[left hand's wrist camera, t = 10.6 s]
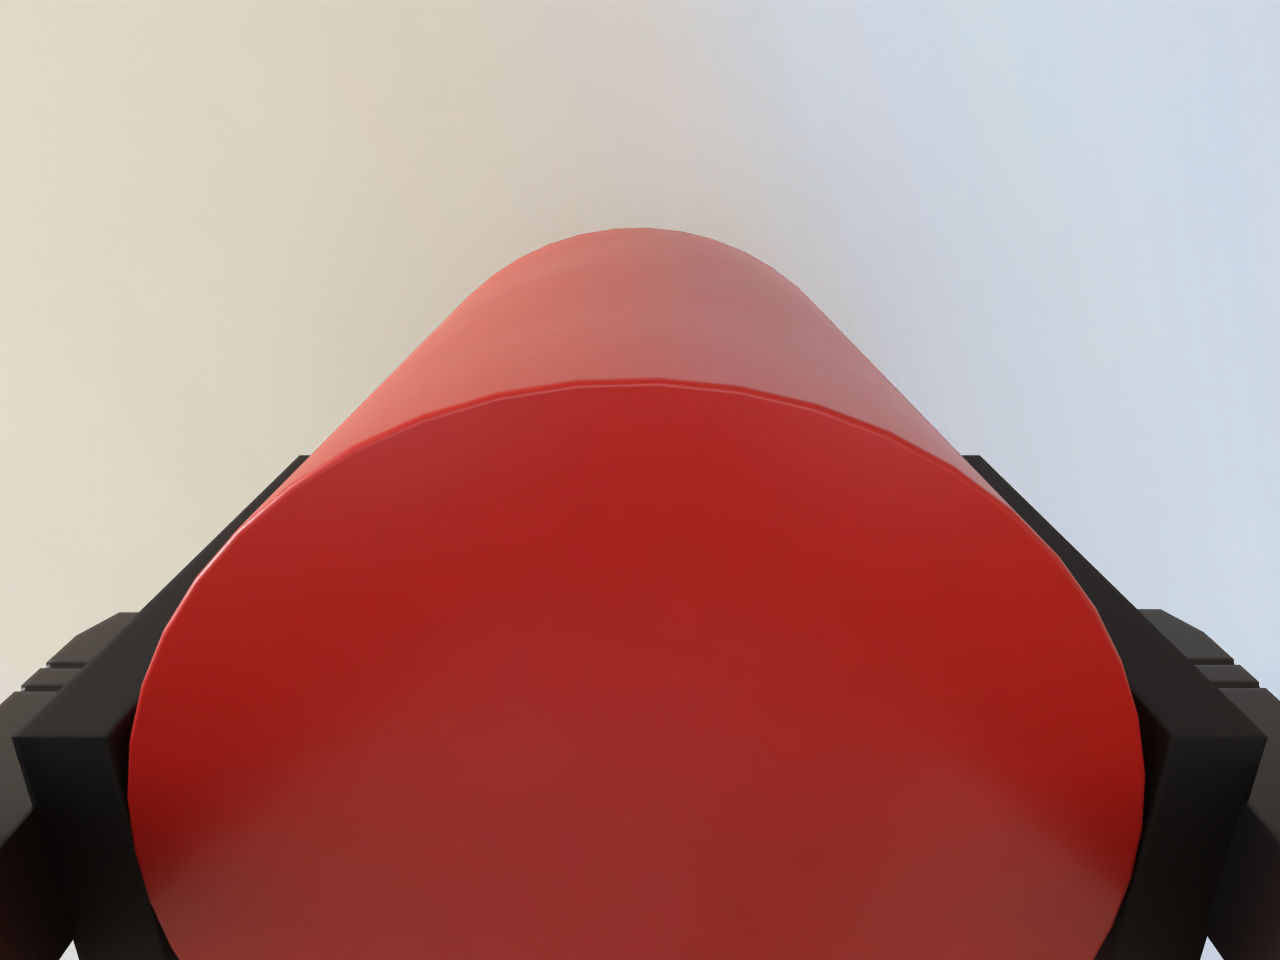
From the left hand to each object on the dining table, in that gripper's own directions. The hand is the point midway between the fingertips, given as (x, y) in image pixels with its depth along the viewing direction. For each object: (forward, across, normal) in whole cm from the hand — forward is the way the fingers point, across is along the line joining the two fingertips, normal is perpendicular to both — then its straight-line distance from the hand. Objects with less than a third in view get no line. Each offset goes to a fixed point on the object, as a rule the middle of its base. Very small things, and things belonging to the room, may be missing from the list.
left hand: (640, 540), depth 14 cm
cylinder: (+3, 0, 0) cm, 3 cm away
